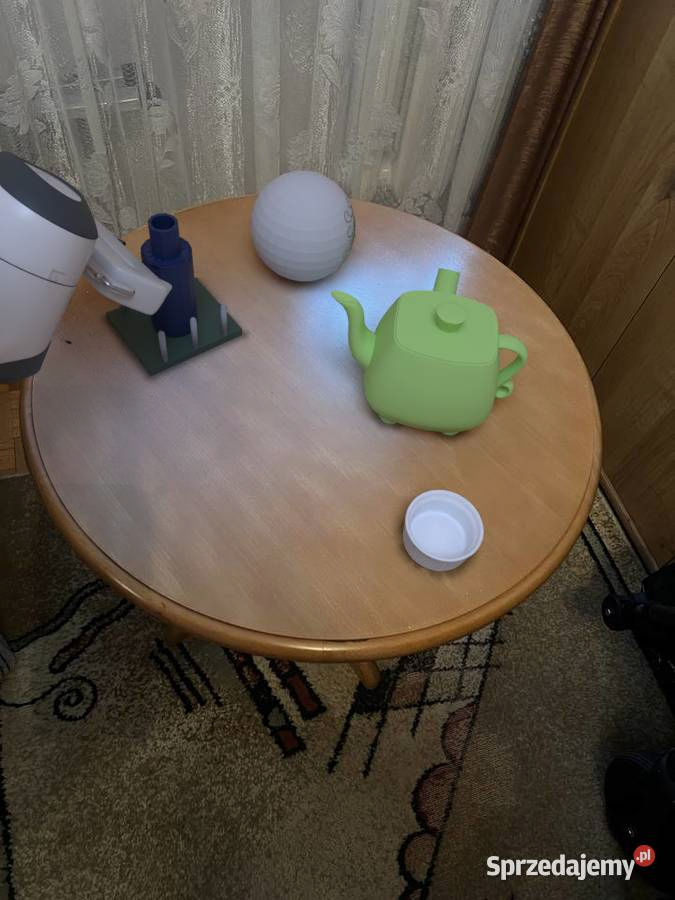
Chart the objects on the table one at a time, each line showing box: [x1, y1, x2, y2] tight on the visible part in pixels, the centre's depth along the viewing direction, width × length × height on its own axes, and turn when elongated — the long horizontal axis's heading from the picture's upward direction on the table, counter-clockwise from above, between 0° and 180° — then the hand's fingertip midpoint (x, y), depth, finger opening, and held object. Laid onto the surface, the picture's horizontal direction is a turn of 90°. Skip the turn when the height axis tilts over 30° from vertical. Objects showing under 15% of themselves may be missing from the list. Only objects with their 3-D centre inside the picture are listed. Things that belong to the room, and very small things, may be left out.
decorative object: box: [250, 169, 356, 282], centre depth 93 cm, size 15×15×15 cm
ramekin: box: [402, 489, 485, 572], centre depth 74 cm, size 9×9×4 cm
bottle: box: [139, 212, 198, 338], centre depth 82 cm, size 6×6×16 cm
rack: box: [105, 277, 243, 377], centre depth 87 cm, size 14×12×6 cm
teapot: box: [330, 267, 529, 436], centre depth 83 cm, size 25×22×16 cm
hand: (142, 266), depth 79 cm, fingers open, 8 cm apart
